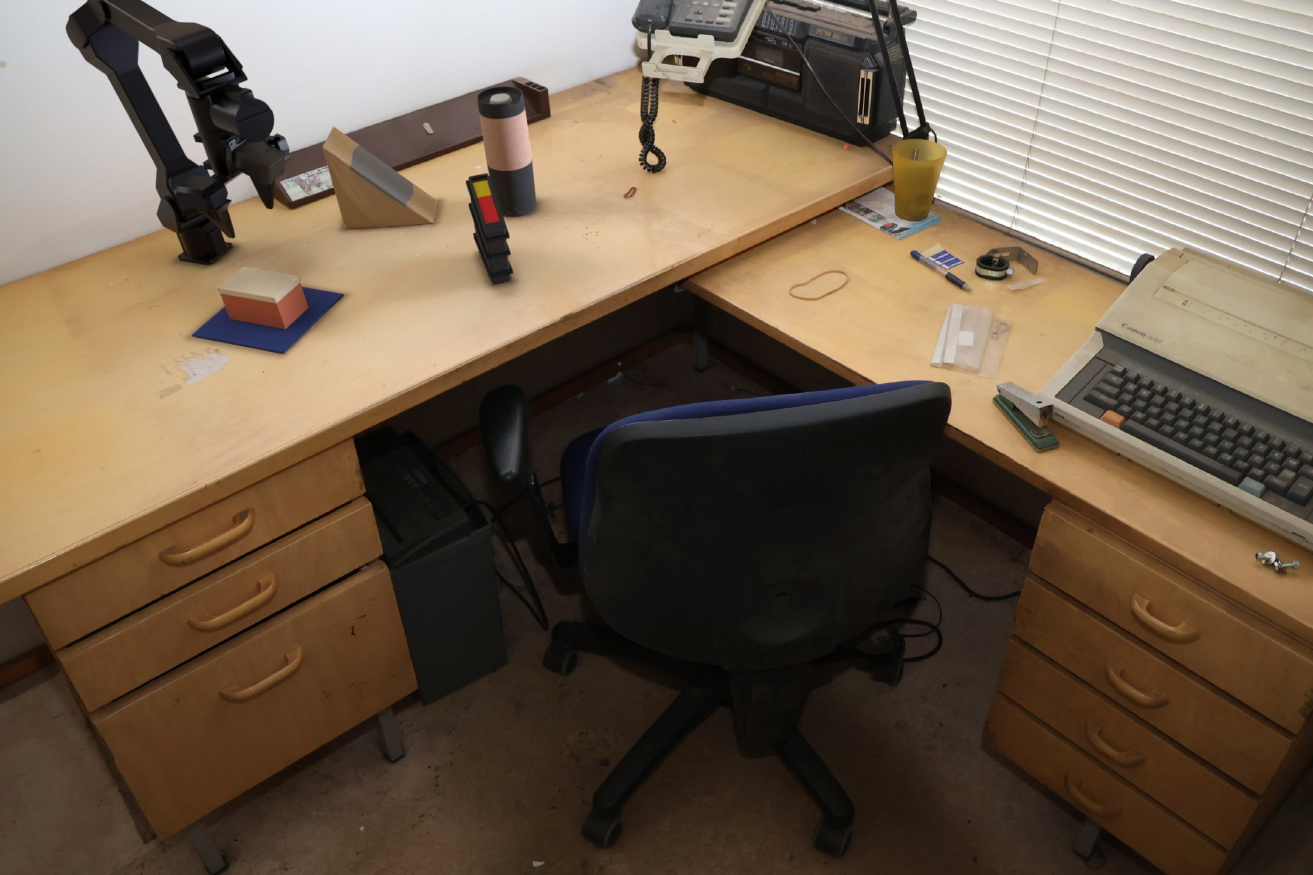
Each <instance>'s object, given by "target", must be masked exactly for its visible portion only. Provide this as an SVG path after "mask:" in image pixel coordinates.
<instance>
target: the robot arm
mask: <svg viewBox="0 0 1313 875" xmlns="http://www.w3.org/2000/svg"><path fill="white" fill-rule="evenodd" d="M65 32H66V35H67V37H68V39H69V41H70V43H71V44H72V45H73V46H74V48H76V49H77V50H78V51H79V53H80V55H81V56H82V58H83V59H84V61H85V62H87V63H88V64H89V65H91V66H93V67H94V68H95V69H97V71H100V72H101V73H102V74H104V75H105V76H106V78H107V79H108V81H109V83H110V85H111V87H112V88H113V90H114V92H115V94H116V96H117V97H118V100H119V101H120V103H121V105H122V107H123V108H124V110H125V113H126V114H127V116H128V118H129V120H130V122H131V124H132V125H133V127H134V130H135V131H136V133H137V134H138V136H139V138H140V140H141V143H142V144H143V146H144V147H145V149H146V151H147V153H148V155H149V157H150V158H151V160H152V162H153V164H154V166H155V168H156V170H155V171H156V173H155V191H156V193H157V195H158V197H159V199H160V200H159V204H158V206H157V211H156V217H157V219H158V220H159V222H160V224H161V226H162V228H164V229H167V230H169V231H171V232H173V233H175V234H176V237H177V240H178V243H179V244H180V247H181V250H182V251H183V252H181V253H180V254H178V255H177V260H179V261H185V262H190V263H197V264H202V265H210V264H213V262H215V261H216V260H217V259H218V258H220V257H221V256H222V255H224V254H225V253H226V252H227V251H229V250H230V249H231V248H233V247H234V245H233V243H232V242H230V241H226V240H225V237H224V236H226V237H227V238H228V239H231V240H232V239H235V238H236V233H235V232H236V231H235V228H234V225H233V221H232V218H231V215H230V212H229V211H230V210H229V207H230V205H231V203H232V199H231V198H228V195H229V191H228V188H227V185H229V183H231V182H232V181H234V180H235V179H237V178H238V177H239V176H241V175H242V174H243V175H245V176H247V177H249V179H250V180H251V182H252V184H253V186H254V188H255V191H256V193H257V195H258V197H259V199H260V201H261V202H262V203H263V206H264V207H265V209H267V210H273V209H274V205H275V187H276V179H277V178H279V177H280V176H283V175H284V174H285V172H286V171H285V170H286V169H285V168H286V163H287V162H288V161H289V160H291V159H292V155H291V152H290V146H289V144H288V141H287V138H286V137H285V136H283V135H282V134H280V133H275V134H273V135H271V134H272V132H273V130H274V127H275V114H274V112H273V109H271V107H270V106H269V104H267V102H266V101H264V100H262V99H260V98H257V97H255V95H254V92H253V90H252V89H250V88H247V87H241V86H240V84H241V83H244V82H247V81H248V79H249V78H248V76H247V75H246V73H245V72H244V65H243V64H242V63H241V62H240V60H239V59H238V58H237V57H236V55H235V54H234V52H233V51H232V50H231V49H230V47H229V46H228V45H227V44H226V42H225V40H224V39H223V38H222V37H221V35H219V34H218V33H217V32H216V31H215V30H213V29H212V28H211V27H208V26H206V25H204V24H200V23H197V22H191V21H177V20H174V19H173V18H171V17H170V16H168V15H167V14H165V13H163V12H162V11H160V10H159V9H156V8H155V7H153V6H152V5H150V4H148V3H147V2H145V1H144V0H86V2H84V3H83V4H82V5H81V6H79V7H78V8H77V9H76V10H74V11H73V12H71V14H69V15H68V20H67V22H66V25H65ZM140 43H141V44H143V45H144V46H146V47H147V48H149V49H150V50H152V51H154V52H156V53H157V55H159V56H160V58H161V59H160V60H161V63H162V66H163V68H164V69H165V70H166V71H167V72H168V73H169V74H170V75H171V76H172V77H173V78H174V79H175V80H176V82H177V83H176V87H177V89H179V90H182V91H184V94H185V96H186V99H187V100H186V101H187V103H188V106H189V109H190V111H191V114H192V117H193V120H194V123H195V126H196V129H197V132H196V133H194V134H193V135H192V137H193V140H194V142H195V143H200V144H202V146H203V148H204V152H205V155H206V158H207V159H206V160H204V161H203V162H202V164H198V163H196V162H195V161H193V160H192V159H190V158H189V157H188V156H187V155H186V153H185V151H184V148H183V147H182V146H181V143H180V141H179V139H178V138H177V136H176V134H175V132H174V130H173V128H172V126H171V124H170V122H169V120H168V118H167V116H166V115H165V113H164V111H163V109H162V106H161V105H160V103H159V102H158V99H157V97H156V95H155V94H154V92H153V89H152V88H151V86H150V83H149V82H148V80H147V79H146V76H145V75H144V73H143V71H142V69H141V67H140V65H139V53H140V52H139V51H140ZM225 69H226V70H227V71H225V72H222V71H224V70H225ZM218 72H222V73H219V74H217V73H218ZM214 74H216V75H214ZM210 75H214V76H212V77H210ZM209 171H212V173H213V174H212V175H211V174H210V172H209ZM223 234H224V235H223Z"/></svg>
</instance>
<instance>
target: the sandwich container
mask: <svg viewBox="0 0 1313 875" xmlns="http://www.w3.org/2000/svg"><path fill="white" fill-rule="evenodd" d="M322 151H323V154H324V159H325V162H326V165H327V166H326V167H327V169H328V173H329V176H330V180H331V183H332V186H333V191H334V194H335V198H336V201H337V205H338V209H339V212H340V215H341V218H342V222H343V226H344V229H346V230H347V229H349V230H351V229H369V228H387V227H401V226H402V227H403V226H413V225H427V224H434V221H435V218H436V215H437V212H438V206H439V200H438V199H437V198H435V197H434V196H432V195H430V194H429V193H428V192H426V191H425V190H424V189H422V188H420V187H419V186H418V185H416V184H415V183H413V182H412V181H410V180H409V179H408V178H406V177H405V176H403V175H402V174H400V173H399V172H398V171H397V170H395V169H393V168H392V167H390V165H388V164H387V163H385V162H383V161H382V160H381V159H380V158H378V157H376V155H373V154H372V153H371V152H370V151H368V150H367V149H365V148H364V147H363V146H362V145H360V144H359V143H357V142H356V141H354V140H353V139H352V138H351V137H349V136H347V134H345V133H343V132H342V131H341V130H340V129H338V128H337V127H336V126H332V127H331V129H330V131H329V133H328V135H327V138H326V140H325V141H324V143H323V145H322Z"/></svg>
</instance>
